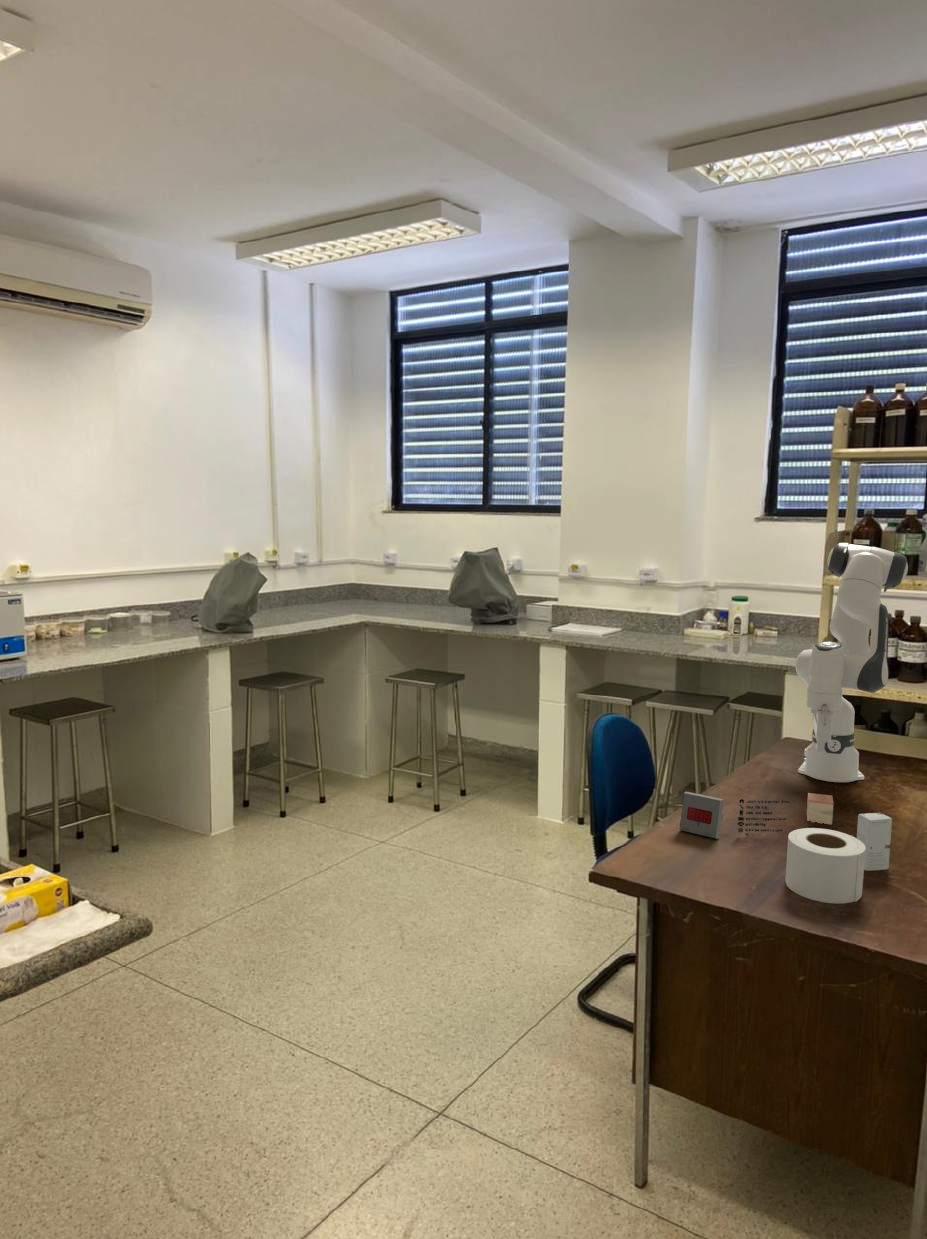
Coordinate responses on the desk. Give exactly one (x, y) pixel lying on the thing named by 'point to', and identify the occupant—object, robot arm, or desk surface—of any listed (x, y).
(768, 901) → the desk surface
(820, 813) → the birch cube
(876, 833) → the skincare box
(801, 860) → the roll of tape
